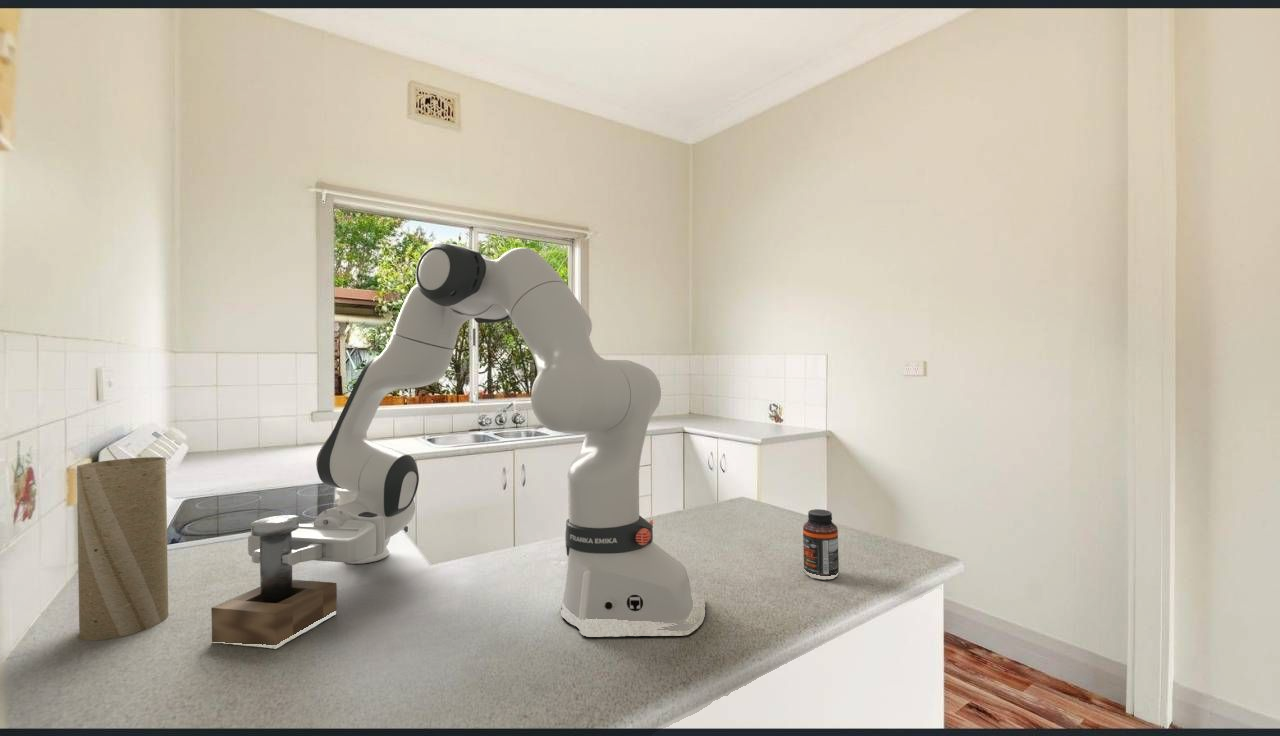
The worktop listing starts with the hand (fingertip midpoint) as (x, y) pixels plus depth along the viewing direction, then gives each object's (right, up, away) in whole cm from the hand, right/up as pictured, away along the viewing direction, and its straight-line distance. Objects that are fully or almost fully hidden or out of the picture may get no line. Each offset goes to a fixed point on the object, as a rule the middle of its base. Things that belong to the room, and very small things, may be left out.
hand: (270, 559), depth 81 cm
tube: (-24, -11, +3) cm, 27 cm away
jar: (-2, -11, +32) cm, 34 cm away
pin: (0, -6, +1) cm, 7 cm away
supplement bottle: (+87, -9, +16) cm, 89 cm away
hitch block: (+1, -10, +1) cm, 11 cm away
